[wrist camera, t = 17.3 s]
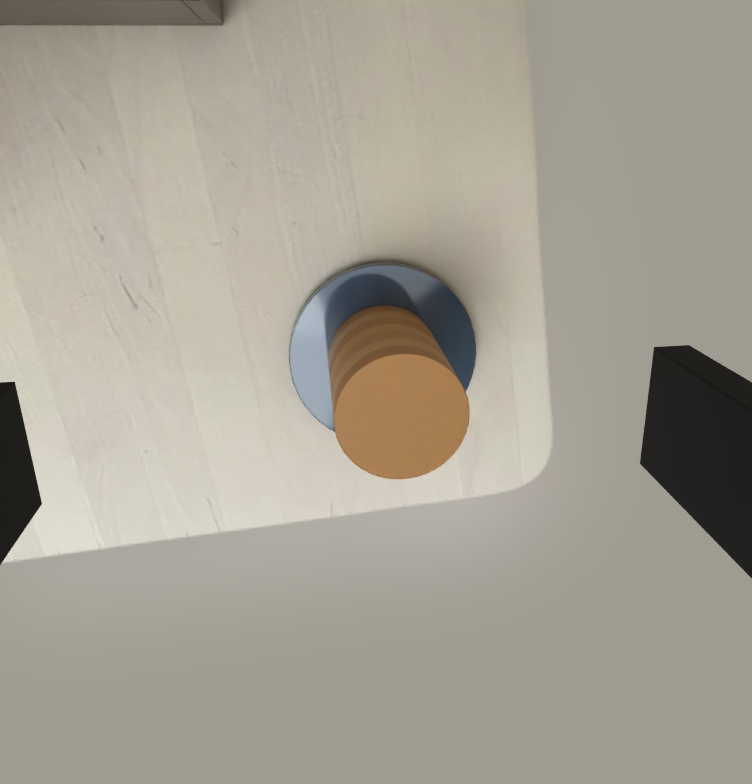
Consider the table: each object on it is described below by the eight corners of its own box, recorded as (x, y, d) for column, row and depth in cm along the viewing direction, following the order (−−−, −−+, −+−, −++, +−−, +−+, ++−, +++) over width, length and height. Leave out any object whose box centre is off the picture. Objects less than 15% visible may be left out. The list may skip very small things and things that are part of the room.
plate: (476, 259, 45) (480, 262, 44) (469, 433, 49) (472, 439, 48) (284, 264, 44) (284, 267, 43) (294, 441, 48) (294, 447, 47)
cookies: (438, 303, 45) (472, 351, 35) (435, 406, 47) (467, 476, 38) (326, 306, 44) (331, 356, 35) (329, 411, 46) (335, 483, 37)
